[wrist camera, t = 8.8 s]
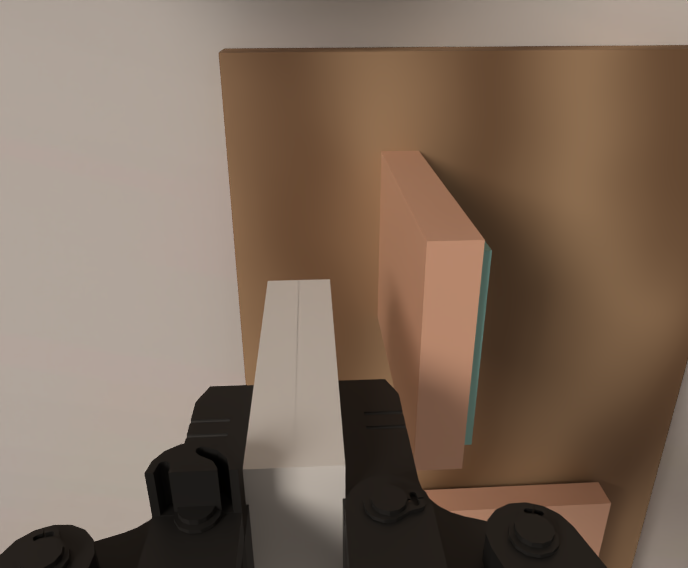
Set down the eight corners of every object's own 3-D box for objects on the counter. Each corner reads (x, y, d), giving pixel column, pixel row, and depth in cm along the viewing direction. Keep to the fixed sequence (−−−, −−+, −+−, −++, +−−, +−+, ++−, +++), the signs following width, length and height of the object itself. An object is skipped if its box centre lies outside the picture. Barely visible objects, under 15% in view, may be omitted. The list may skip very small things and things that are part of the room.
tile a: (407, 616, 27) (586, 605, 28) (413, 512, 25) (611, 503, 25) (402, 586, 28) (573, 577, 29) (407, 485, 26) (595, 476, 26)
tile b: (377, 316, 22) (413, 471, 15) (381, 151, 20) (426, 241, 13) (418, 315, 23) (474, 467, 15) (427, 150, 20) (499, 239, 13)
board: (268, 609, 31) (266, 638, 29) (224, 48, 20) (218, 52, 18) (604, 591, 32) (617, 617, 30) (741, 44, 21) (771, 48, 19)
